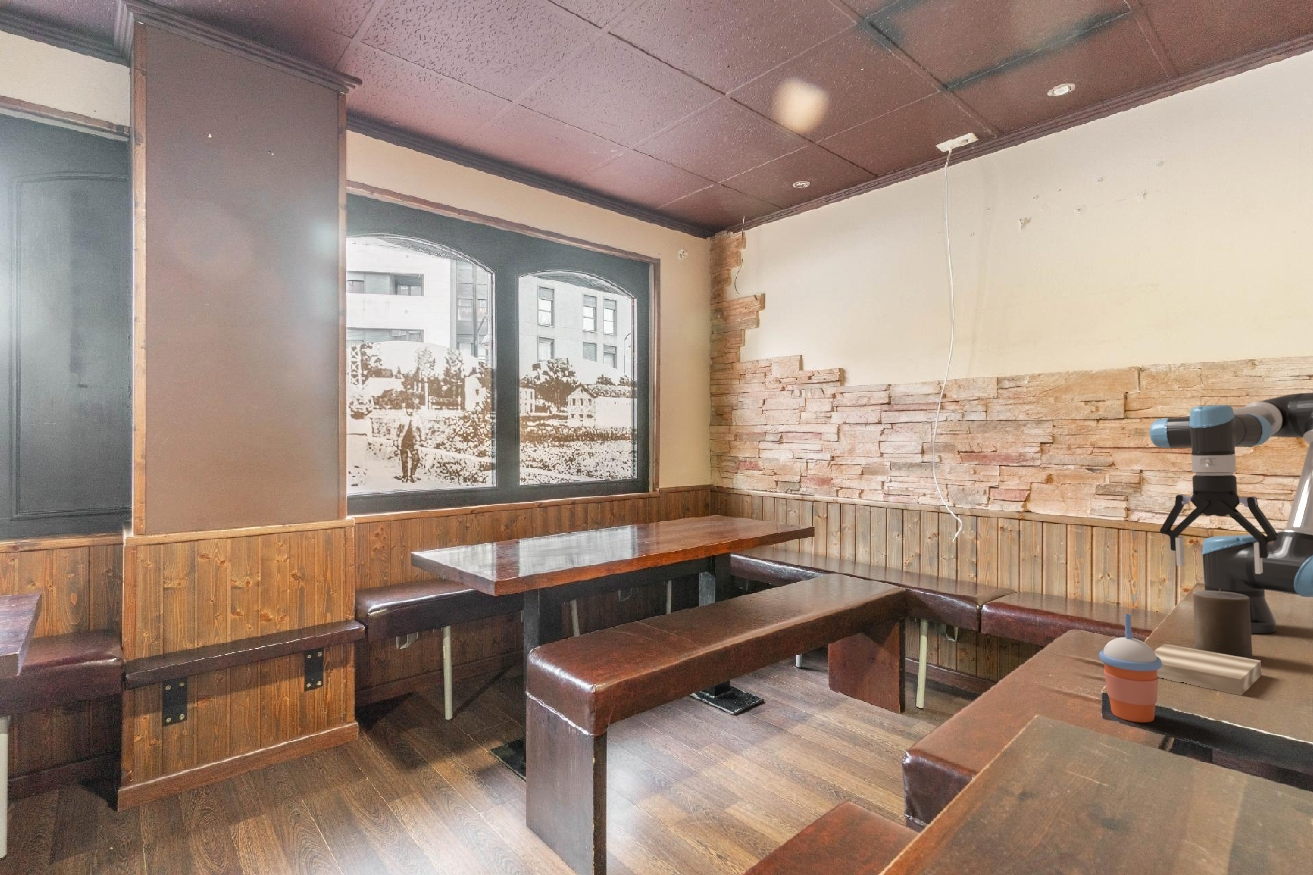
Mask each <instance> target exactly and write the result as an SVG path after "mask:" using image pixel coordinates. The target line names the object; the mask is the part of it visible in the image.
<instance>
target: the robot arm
mask: <svg viewBox="0 0 1313 875" xmlns="http://www.w3.org/2000/svg"><path fill="white" fill-rule="evenodd" d="M1149 437H1150V441H1151V443H1152V444H1153V445H1155V447H1158V448H1162V449H1163V448H1164V449H1166V448H1167V449H1168V448H1169V449H1183V448H1188V449H1189V448H1190V449H1191V457H1190V458H1191V471H1192V473H1195V474H1194V475H1193V476H1192V495H1190V496H1189V495H1184V494H1177V495H1176V496H1175V501H1174V505H1173V507H1172V509H1171V510H1170V512H1169V514H1168V515H1167V517H1166V519H1165V521H1164V523H1163V524H1162V526H1161V527H1160V529H1159V532H1160V534H1162V535H1163V534H1164V535H1167V536H1168V537H1169V539H1170V540H1169V542H1170V543H1169V544H1170V545H1169V546H1170V550H1171V551H1173V552H1174V551H1175V552H1176V553H1175V555H1176V556H1175V557H1176V558H1175V559H1176V566H1177V567H1182V566H1184V565H1185V551H1184V549H1185V548H1184V536H1179V535H1181V534H1182V533H1183V532H1184V531H1185V530H1186V529H1187V528H1188V527H1189V526H1190V525H1191V524H1193V522H1195V521H1196V519H1198V518H1199V517H1200V516H1202V515H1205V516H1209V517H1211V516H1216V517H1226V516H1229V517H1230V518H1231V519H1233V520H1234V521H1236V523H1238V525H1240V527H1241V528H1243V529H1244V530H1245V531H1246V532H1247V533H1248V534H1242V535H1238V534H1237V535H1233V534H1232V535H1221V536H1220V535H1219V536H1209V537H1207V538H1205V539H1203V542H1202V552H1201V556H1202V568H1203V585H1204V591H1220V590H1219V589H1221V591H1222V592H1231V593H1237V594H1242V595H1246V596H1248V597H1249V599H1250V618H1251V634H1270V633H1274V632H1276V631H1277V621H1276V619H1275V617H1274V614H1273V612H1272V610H1271V608H1270V606H1269V604H1268V602H1267V600H1266V593H1265V591H1271V592H1276V593H1277V592H1278V593H1284V594H1288V595H1289V594H1290V595H1295V596H1301V597H1303V598H1313V392H1304V393H1303V392H1301V393H1292V394H1286V395H1281V396H1277V397H1272V398H1268V399H1265V400H1259V401H1254V402H1250V403H1247V404H1246V405H1245V406H1244V407H1240V408H1239V407H1238V408H1232V406H1231V405H1229V404H1220V405H1219V404H1218V405H1217V404H1216V405H1201V406H1194V407H1193V408H1191V409H1190V412H1189V415H1187V416H1186V415H1185V416H1180V417H1166V418H1158V419H1156V420H1154V421H1153V422H1152V423H1151V426H1150V428H1149ZM1270 437H1273V438H1277V437H1278V438H1297V439H1299V438H1301V439H1302V438H1303V440H1304V441H1305V442H1306V443H1307V444H1308V448H1307V451H1306V455H1305V458H1304V462H1303V464H1302V465H1303V466H1302V470H1301V473H1300V476H1299V478H1298V479H1299V480H1298V482H1297V483H1298V484H1297V487H1296V490H1295V493H1294V494H1295V495H1294V499H1293V501H1292V504H1291V509H1290V511H1289V515H1288V519H1287V523H1286V526H1285V528H1284V529H1281V530H1279V531H1276V530H1275V528H1274V527H1273V526H1272V524H1271V522H1270V521H1269V519H1268V517H1267V516H1266V515H1265V514H1264V512H1263V511H1262V509H1261V507H1259V502H1258V498H1257V497H1256V496H1254V495H1251V496H1249V497H1248V496H1247V497H1239V495H1238V487H1237V486H1238V485H1237V477H1236V475H1233V474H1234V473H1236V472H1237V462H1236V461H1237V460H1236V450H1235V449H1236V448H1253V447H1257V446H1261V445H1263V444H1264V443H1267V441H1269V439H1270ZM1189 502H1191V503H1192V504H1193V505H1194V507H1195V508H1194V509H1193V510H1192V511H1191V512H1190V513H1189V514H1188V515H1187V516H1186V517H1185V518H1184V519H1183V520H1182V521H1181V522H1180V523H1178V525H1176V527H1175V528H1173V529H1172V527H1173V526H1174V524H1175V522H1176V520H1177V519H1178V517H1179V515H1180V513H1181V512H1182V510H1183V509H1184V506H1186V505H1188V504H1189ZM1240 504H1243V506H1244V508H1245V507H1246V508H1248V509H1249V511H1250V512H1251V514H1252V516H1253V517H1254V518H1255V520H1256V522H1257V523H1258V525H1259V526H1260V528H1262V530H1263V531H1264V533H1265V534H1264V533H1263V532H1261V531H1260V530H1259V529H1258V528H1257V527H1256V526H1255V525H1254V524H1253V523H1251V522H1250V520H1248V519H1247V518H1246V517H1245V516H1244V515H1243V514H1242V513H1241V511H1239V510H1238V509H1237V507H1238V506H1239V505H1240Z"/></svg>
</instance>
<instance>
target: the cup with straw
mask: <svg viewBox="0 0 1313 875" xmlns="http://www.w3.org/2000/svg"><path fill="white" fill-rule="evenodd" d="M1131 617H1132V615H1131V614H1130V613H1125V614H1124V627H1125V628H1124V629H1125V630H1124V631H1125V636H1124V637H1115V638H1114V639H1112V640H1110V641H1108V642H1107V644H1105V646H1104V648H1103V649H1102V650H1100V651H1099V654H1098V656H1099V657H1098V658H1099V660H1100V661H1101V662H1102V663H1103V664H1104V666H1103V667H1104V669H1103V673H1104V680H1105V685H1106V692H1107V695H1108V698H1109V699H1108V700H1109V703H1110V711H1111V713H1112V714H1113V715H1114V716H1115V717H1117V718H1120V719H1122V720H1125V721H1129V722H1134V723H1151V722H1153V721H1154V720H1155V712H1156V711H1155V710H1156V704H1157V702H1158V690H1159V689H1158V688H1159V687H1158V686H1159V678H1158V676H1157V670H1158V669H1160V668H1161V667H1162V662H1161V659H1160V658H1159V657H1157V656H1156V654H1155V653H1154V650H1153V648H1152V647H1151V646H1150V645H1149V644H1147V643H1145V642H1144V641H1143V640H1140V639H1137V638H1133V634H1132V618H1131Z"/></svg>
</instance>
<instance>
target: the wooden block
mask: <svg viewBox="0 0 1313 875" xmlns="http://www.w3.org/2000/svg"><path fill="white" fill-rule="evenodd" d="M1153 651H1154V653H1155V654H1156V656H1157V657H1159V658H1160V659H1161V662H1162V667H1161V668H1160V669H1158V670H1157V676H1158V677H1159V678H1158V679H1161V678H1164V679H1163V680H1166V679H1167V680H1168V681H1171V680H1172V681H1173V682H1176V683H1180V682H1184V683H1183V684H1185V683H1187V685H1190V684H1191V686H1196V687H1199V686H1200V687H1201V688H1205V689H1210V690H1214V689H1215V690H1214V691H1219V692H1224V693H1227V694H1228V693H1229V694H1233V695H1238V696H1243V695H1244V694H1245V693H1246V691H1248V690H1249V689H1250V688H1251V686H1253V685H1254V683H1256V681H1258V680H1259V678H1261V676H1262V663H1261V660H1258V659H1248V658H1243V657H1237V656H1231V655H1226V654H1220V653H1214V652H1208V651H1203V650H1197V649H1195V648H1191V647H1185V646H1179V645H1174V644H1168V643H1163V644H1162V645H1160V646H1159V647H1157V648H1156V649H1155V650H1153ZM1167 680H1166V681H1167Z"/></svg>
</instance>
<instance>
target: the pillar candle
mask: <svg viewBox="0 0 1313 875" xmlns="http://www.w3.org/2000/svg"><path fill="white" fill-rule="evenodd" d="M1219 590H1220V591H1205V590H1195V591H1193V592H1192V596H1193V598H1192V599H1193V619H1194V620H1193V621H1194V623H1193V624H1194V649H1197V650H1203V651H1208V652H1214V653H1220V654H1226V655H1231V656H1237V657H1243V658H1248V659H1253V658H1254V657H1253V643H1252V642H1253V641H1252V639H1253V638H1252V633H1251V618H1250V599H1249V597H1248V596H1246V595H1242V594H1237V593H1231V592H1222V591H1221V589H1219Z"/></svg>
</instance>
